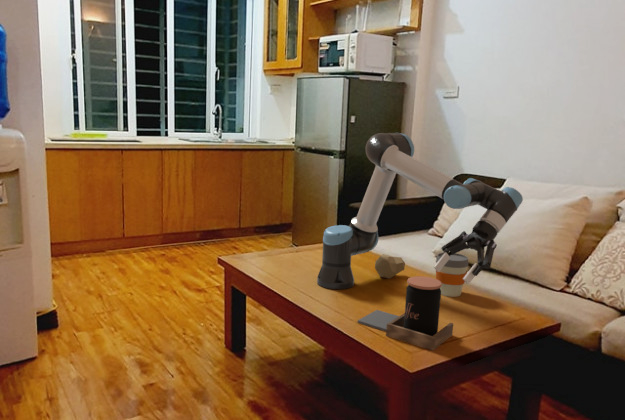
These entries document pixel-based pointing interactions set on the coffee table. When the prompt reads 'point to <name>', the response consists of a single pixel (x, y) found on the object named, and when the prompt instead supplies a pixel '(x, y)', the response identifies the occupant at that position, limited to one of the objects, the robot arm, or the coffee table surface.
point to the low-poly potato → (389, 266)
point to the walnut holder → (417, 334)
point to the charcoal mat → (377, 319)
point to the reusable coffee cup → (452, 274)
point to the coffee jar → (422, 305)
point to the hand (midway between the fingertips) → (450, 275)
